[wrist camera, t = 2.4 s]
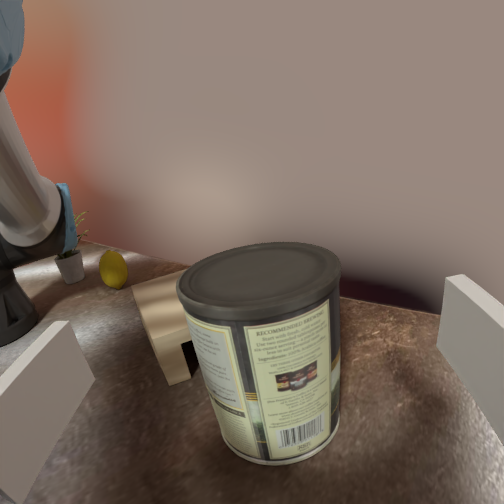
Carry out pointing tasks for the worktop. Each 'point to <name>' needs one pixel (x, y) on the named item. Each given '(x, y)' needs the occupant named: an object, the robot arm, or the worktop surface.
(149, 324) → the wooden block
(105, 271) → the lemon
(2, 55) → the robot arm
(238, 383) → the coffee can
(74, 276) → the house plant
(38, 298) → the worktop surface
